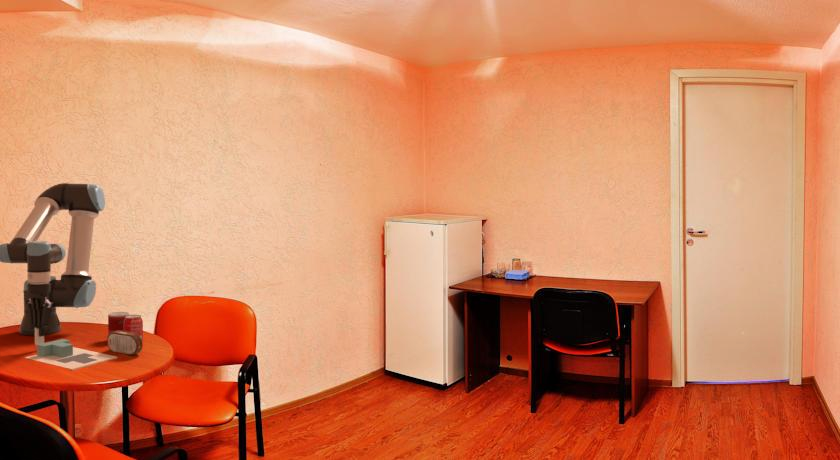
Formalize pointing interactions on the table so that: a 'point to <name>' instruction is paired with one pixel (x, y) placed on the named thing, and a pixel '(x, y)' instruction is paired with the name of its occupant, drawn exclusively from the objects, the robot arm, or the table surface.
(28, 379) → the table surface
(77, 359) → the mat
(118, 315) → the canned food
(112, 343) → the tin
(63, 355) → the t block
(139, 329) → the soda can
